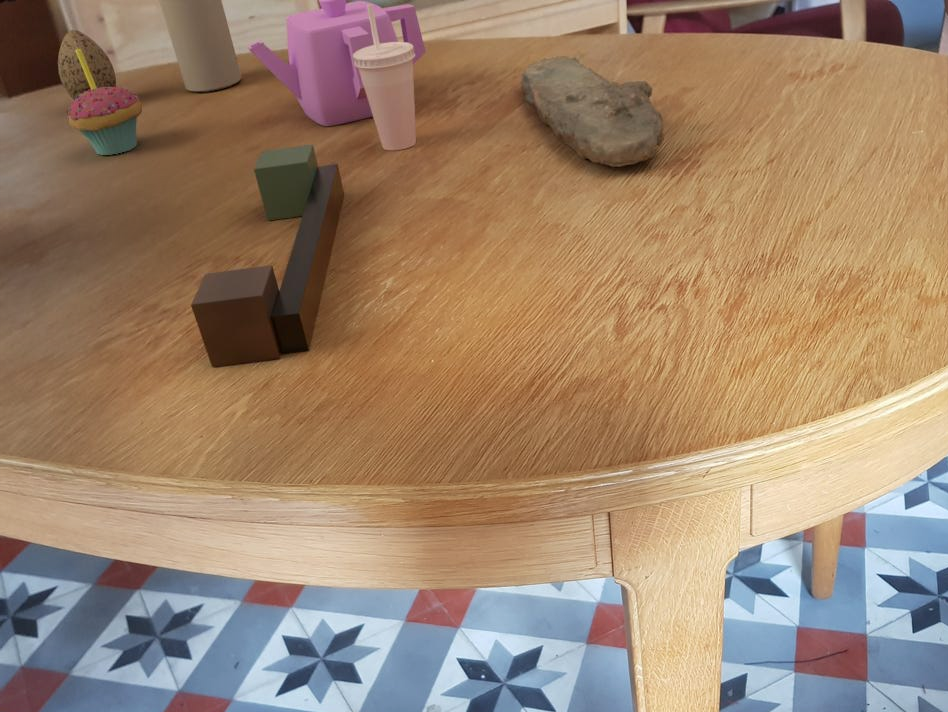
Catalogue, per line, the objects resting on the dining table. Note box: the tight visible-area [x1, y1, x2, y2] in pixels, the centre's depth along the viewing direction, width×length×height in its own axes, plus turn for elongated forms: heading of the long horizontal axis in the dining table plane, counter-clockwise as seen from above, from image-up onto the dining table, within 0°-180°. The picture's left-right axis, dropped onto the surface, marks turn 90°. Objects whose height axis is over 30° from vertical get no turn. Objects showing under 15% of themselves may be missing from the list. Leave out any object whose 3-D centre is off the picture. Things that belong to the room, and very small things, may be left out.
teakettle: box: [247, 0, 427, 127], centre depth 114 cm, size 17×17×12 cm
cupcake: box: [66, 42, 143, 156], centre depth 111 cm, size 9×8×12 cm
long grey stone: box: [520, 55, 665, 168], centre depth 100 cm, size 35×5×10 cm
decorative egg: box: [57, 29, 117, 100], centre depth 130 cm, size 7×7×10 cm
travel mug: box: [159, 0, 242, 93], centre depth 129 cm, size 8×8×18 cm
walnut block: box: [190, 264, 282, 368], centre depth 68 cm, size 5×5×5 cm
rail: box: [271, 163, 345, 355], centre depth 79 cm, size 2×31×3 cm, turn 2°
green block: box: [253, 144, 319, 221], centre depth 90 cm, size 5×5×5 cm
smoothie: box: [353, 3, 417, 151], centre depth 99 cm, size 6×6×14 cm
